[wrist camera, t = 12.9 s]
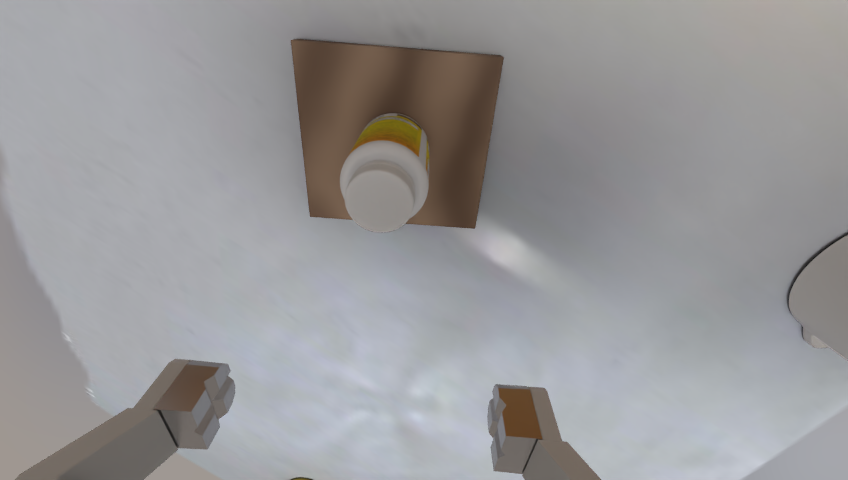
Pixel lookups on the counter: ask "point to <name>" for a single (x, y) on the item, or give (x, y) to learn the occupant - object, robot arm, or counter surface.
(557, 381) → the counter surface
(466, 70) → the walnut board
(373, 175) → the supplement bottle
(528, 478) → the robot arm
